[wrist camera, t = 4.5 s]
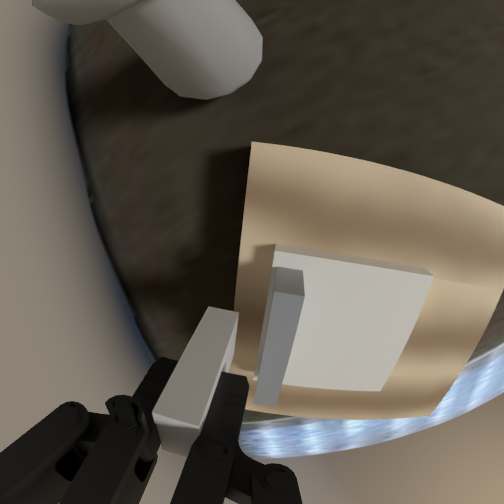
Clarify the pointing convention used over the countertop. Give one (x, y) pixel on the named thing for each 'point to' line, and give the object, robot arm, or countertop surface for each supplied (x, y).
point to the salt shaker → (178, 39)
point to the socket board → (376, 248)
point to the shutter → (335, 321)
